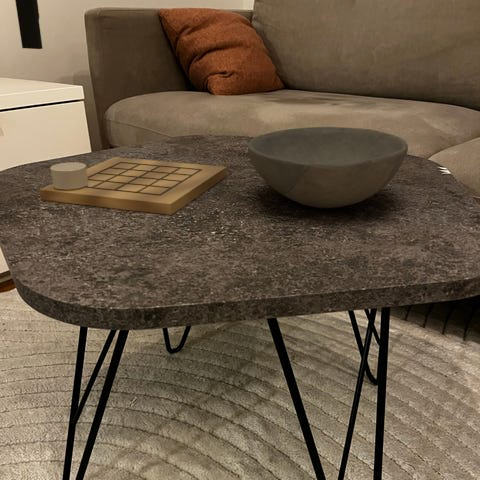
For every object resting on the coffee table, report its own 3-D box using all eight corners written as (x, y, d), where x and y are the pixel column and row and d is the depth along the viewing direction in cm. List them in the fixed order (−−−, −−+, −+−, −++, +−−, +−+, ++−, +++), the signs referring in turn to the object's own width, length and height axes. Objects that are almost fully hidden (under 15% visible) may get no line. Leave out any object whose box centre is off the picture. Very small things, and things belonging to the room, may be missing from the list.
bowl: (429, 218, 74) (439, 154, 71) (269, 230, 71) (270, 163, 67) (364, 175, 93) (369, 122, 89) (234, 183, 89) (233, 128, 85)
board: (40, 200, 82) (39, 188, 81) (114, 166, 98) (113, 156, 98) (171, 215, 76) (170, 202, 75) (226, 176, 93) (226, 166, 92)
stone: (45, 187, 81) (42, 169, 80) (66, 179, 85) (63, 161, 84) (75, 191, 80) (73, 172, 79) (94, 182, 84) (92, 163, 83)
